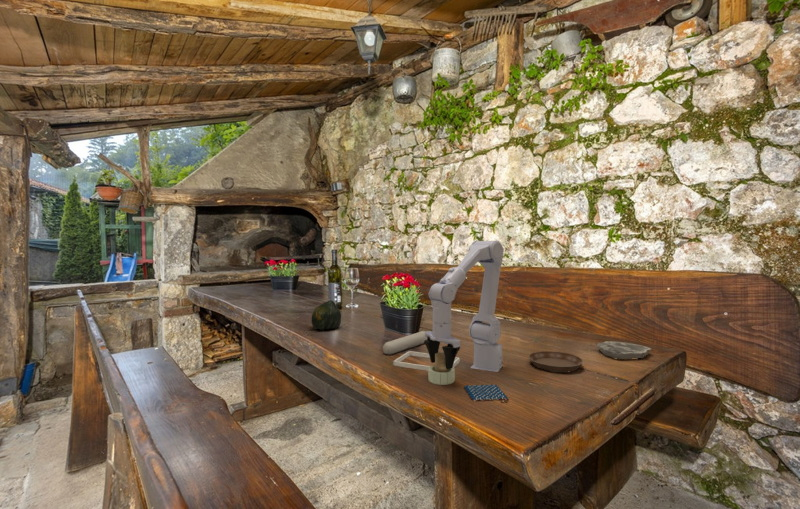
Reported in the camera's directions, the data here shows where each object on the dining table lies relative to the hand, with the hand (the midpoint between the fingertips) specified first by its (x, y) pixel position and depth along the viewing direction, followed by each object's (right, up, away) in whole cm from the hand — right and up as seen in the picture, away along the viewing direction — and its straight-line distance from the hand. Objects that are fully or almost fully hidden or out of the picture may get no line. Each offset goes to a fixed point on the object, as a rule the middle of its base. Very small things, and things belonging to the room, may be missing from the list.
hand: (441, 365), depth 121 cm
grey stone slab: (+73, -5, +30) cm, 79 cm away
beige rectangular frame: (-3, -5, +16) cm, 17 cm away
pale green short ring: (0, -5, 0) cm, 5 cm away
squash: (-50, -3, +73) cm, 88 cm away
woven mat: (+11, -6, -11) cm, 17 cm away
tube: (-10, -4, +38) cm, 39 cm away
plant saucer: (+42, -5, +16) cm, 45 cm away
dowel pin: (0, -5, 0) cm, 5 cm away
